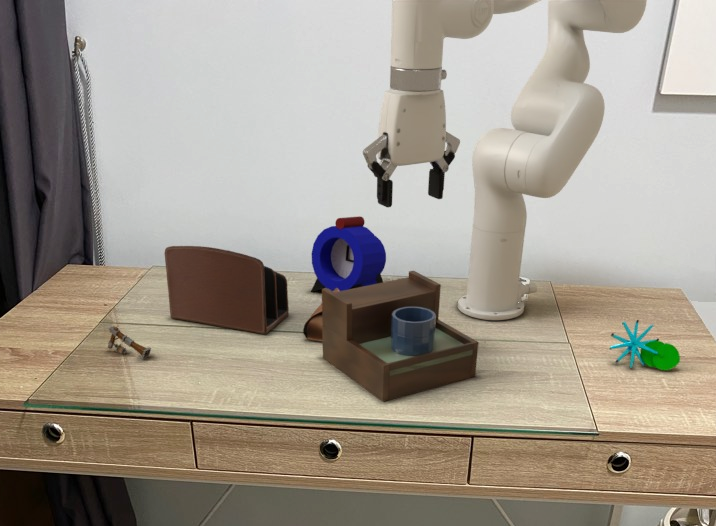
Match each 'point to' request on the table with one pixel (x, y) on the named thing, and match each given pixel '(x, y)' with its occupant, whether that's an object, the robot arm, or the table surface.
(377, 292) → the brown wooden drawer box
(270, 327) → the letter holder
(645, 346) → the stick construction toy
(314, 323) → the sunglasses case
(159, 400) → the table surface
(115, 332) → the brown branched rod
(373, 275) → the alarm clock
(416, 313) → the cup
